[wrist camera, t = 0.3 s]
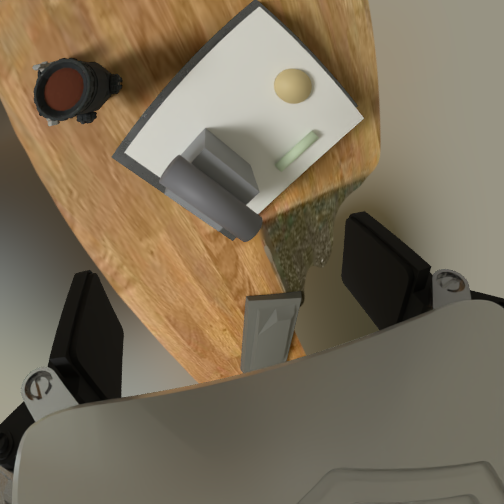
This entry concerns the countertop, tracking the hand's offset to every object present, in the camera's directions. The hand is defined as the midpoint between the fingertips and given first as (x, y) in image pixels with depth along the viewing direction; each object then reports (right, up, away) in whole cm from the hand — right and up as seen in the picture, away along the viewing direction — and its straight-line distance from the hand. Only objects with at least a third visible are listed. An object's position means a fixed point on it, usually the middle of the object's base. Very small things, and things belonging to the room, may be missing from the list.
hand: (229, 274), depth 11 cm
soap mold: (+4, -15, +47) cm, 50 cm away
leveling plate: (0, +15, +22) cm, 27 cm away
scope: (-19, +21, +18) cm, 34 cm away
